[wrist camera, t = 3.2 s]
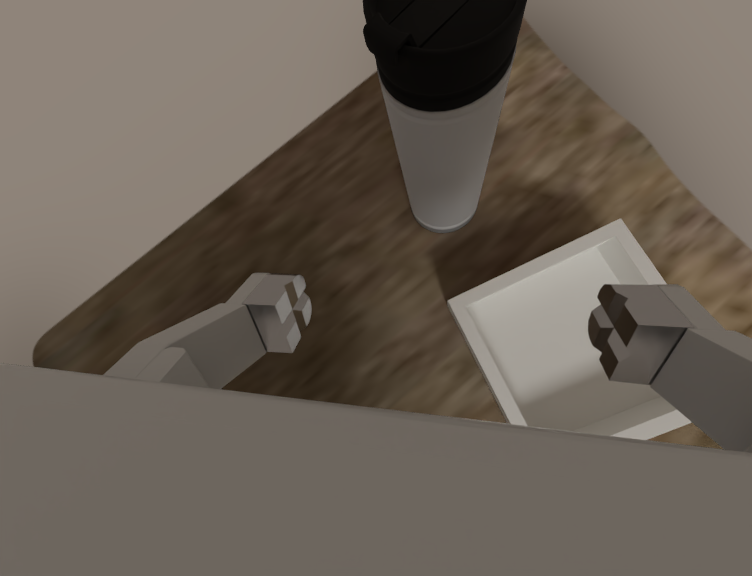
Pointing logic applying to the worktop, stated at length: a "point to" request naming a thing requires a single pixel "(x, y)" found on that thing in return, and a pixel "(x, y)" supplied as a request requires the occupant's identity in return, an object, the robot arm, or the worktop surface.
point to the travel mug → (443, 95)
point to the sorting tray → (561, 340)
